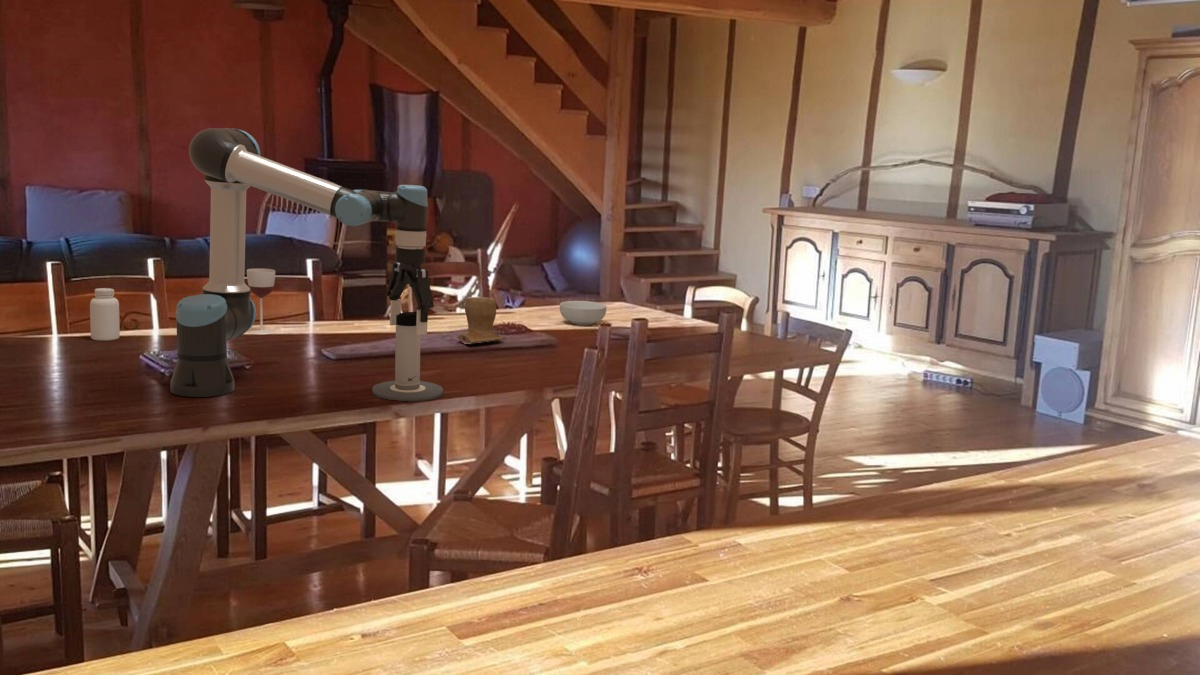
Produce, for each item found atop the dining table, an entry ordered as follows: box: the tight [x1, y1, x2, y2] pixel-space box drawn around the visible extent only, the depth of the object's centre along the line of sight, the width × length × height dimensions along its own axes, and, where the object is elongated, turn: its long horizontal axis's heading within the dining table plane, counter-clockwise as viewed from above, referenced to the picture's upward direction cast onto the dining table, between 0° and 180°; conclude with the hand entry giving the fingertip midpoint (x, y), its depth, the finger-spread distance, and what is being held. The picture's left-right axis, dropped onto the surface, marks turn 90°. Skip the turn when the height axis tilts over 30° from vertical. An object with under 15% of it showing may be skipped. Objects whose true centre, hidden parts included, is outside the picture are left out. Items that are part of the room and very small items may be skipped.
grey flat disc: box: [371, 380, 444, 403], centre depth 282 cm, size 18×18×1 cm
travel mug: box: [394, 311, 421, 390], centre depth 280 cm, size 6×7×20 cm
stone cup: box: [457, 296, 504, 343], centre depth 351 cm, size 15×12×15 cm
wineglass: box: [246, 268, 276, 335], centre depth 347 cm, size 8×9×20 cm
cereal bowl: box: [559, 300, 607, 326], centre depth 396 cm, size 17×17×7 cm
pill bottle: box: [89, 287, 121, 342], centre depth 326 cm, size 8×8×15 cm
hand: (408, 329), depth 279 cm, fingers open, 13 cm apart
